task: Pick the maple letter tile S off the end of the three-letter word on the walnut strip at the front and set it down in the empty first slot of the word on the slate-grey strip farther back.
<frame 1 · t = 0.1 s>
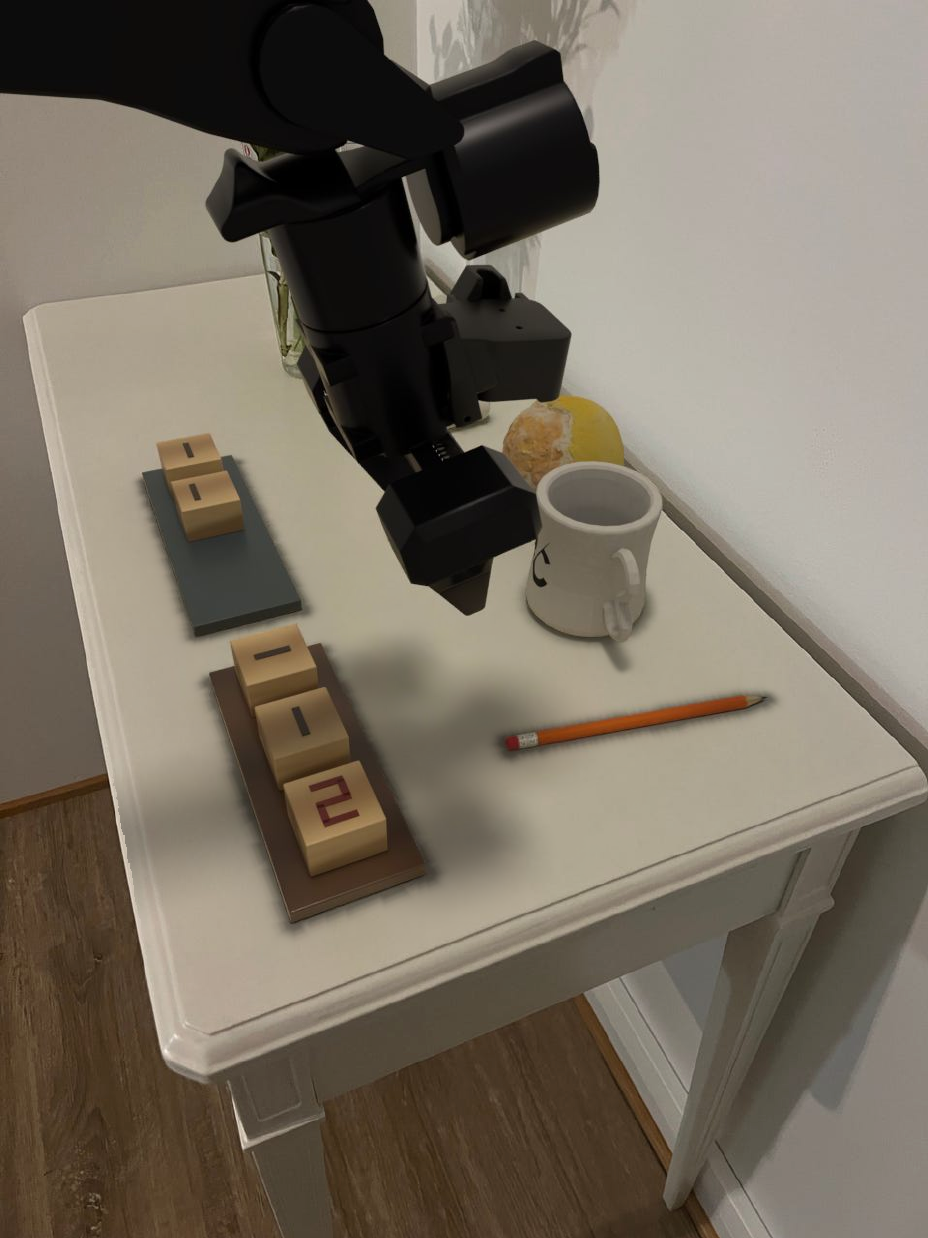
hand: (443, 558, 51), 15 cm above the table, tool pointing down, fingers open, 9 cm apart
icon: (436, 404, 95), on the table
mug: (590, 618, 71), on the table
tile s: (337, 833, 55), point 1 cm above the table, touching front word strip
back word strip: (216, 540, 77), on the table
fruit: (555, 509, 82), on the table
pencil: (640, 726, 63), on the table
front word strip: (308, 769, 59), on the table
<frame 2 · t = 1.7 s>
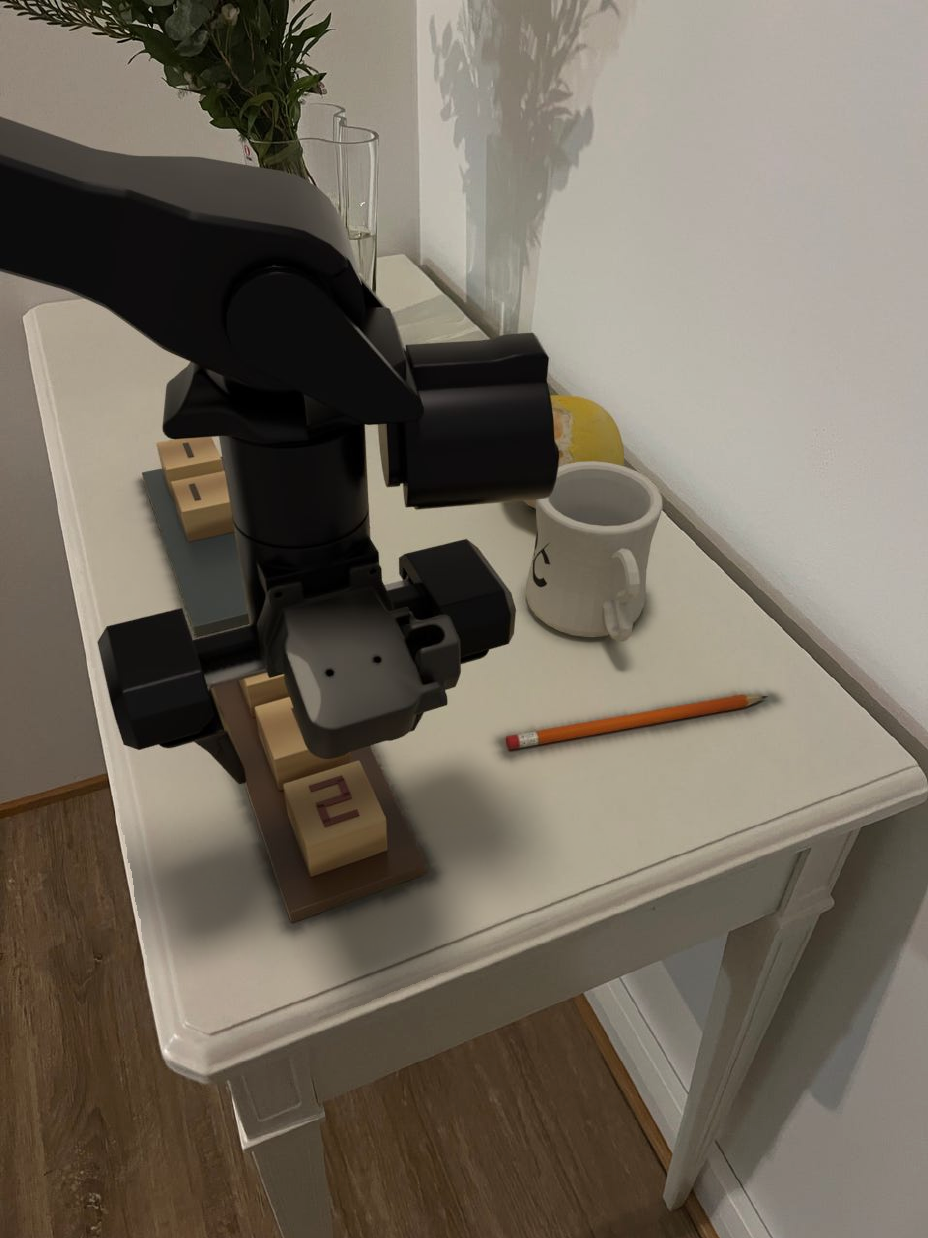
hand: (326, 751, 50), 8 cm above the table, tool pointing down, fingers open, 9 cm apart
nothing on the table moved.
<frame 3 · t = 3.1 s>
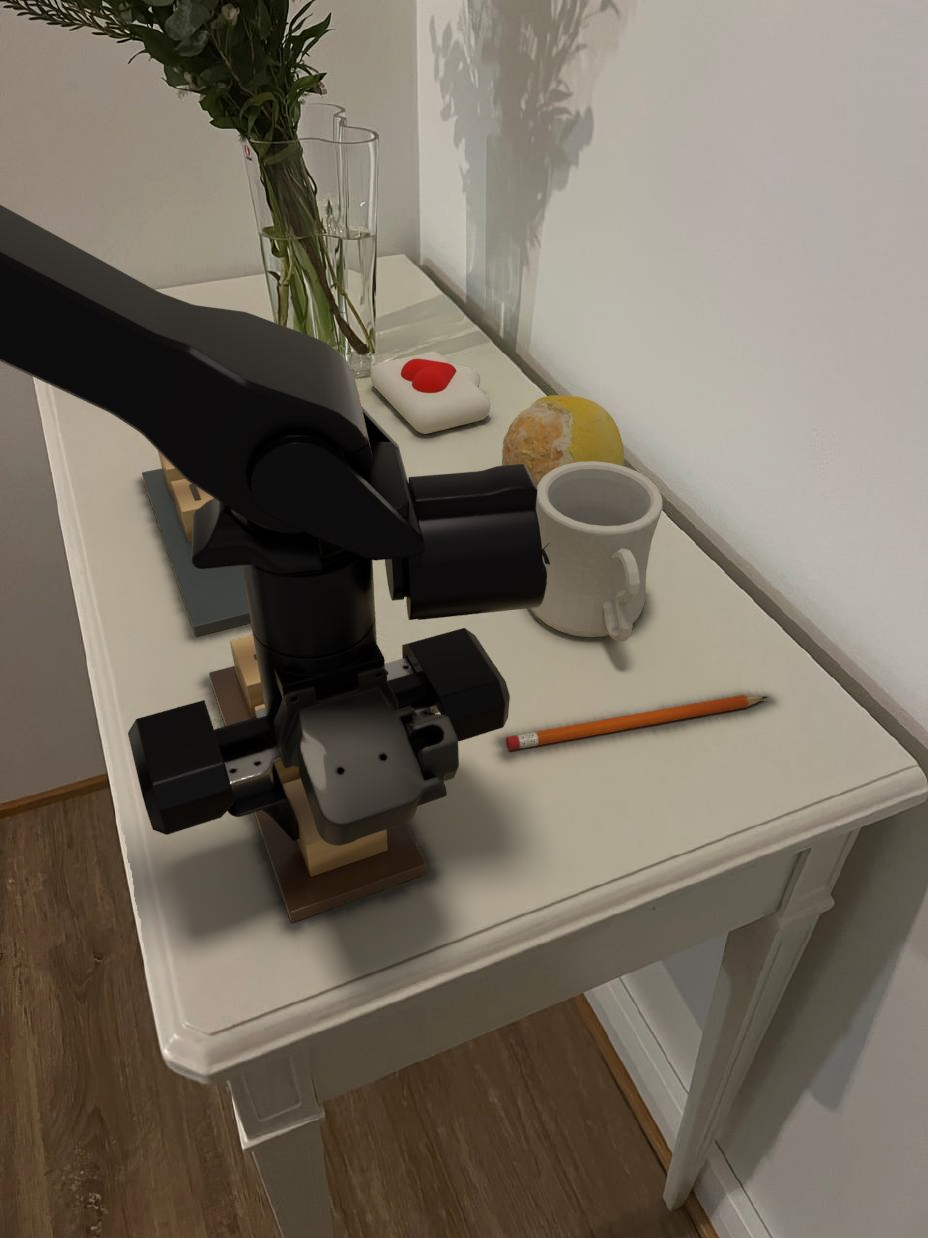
hand: (335, 820, 54), 2 cm above the table, tool pointing down, fingers closed on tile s, 4 cm apart
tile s: (337, 833, 55), point 1 cm above the table, touching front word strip, gripper
everything else where it was.
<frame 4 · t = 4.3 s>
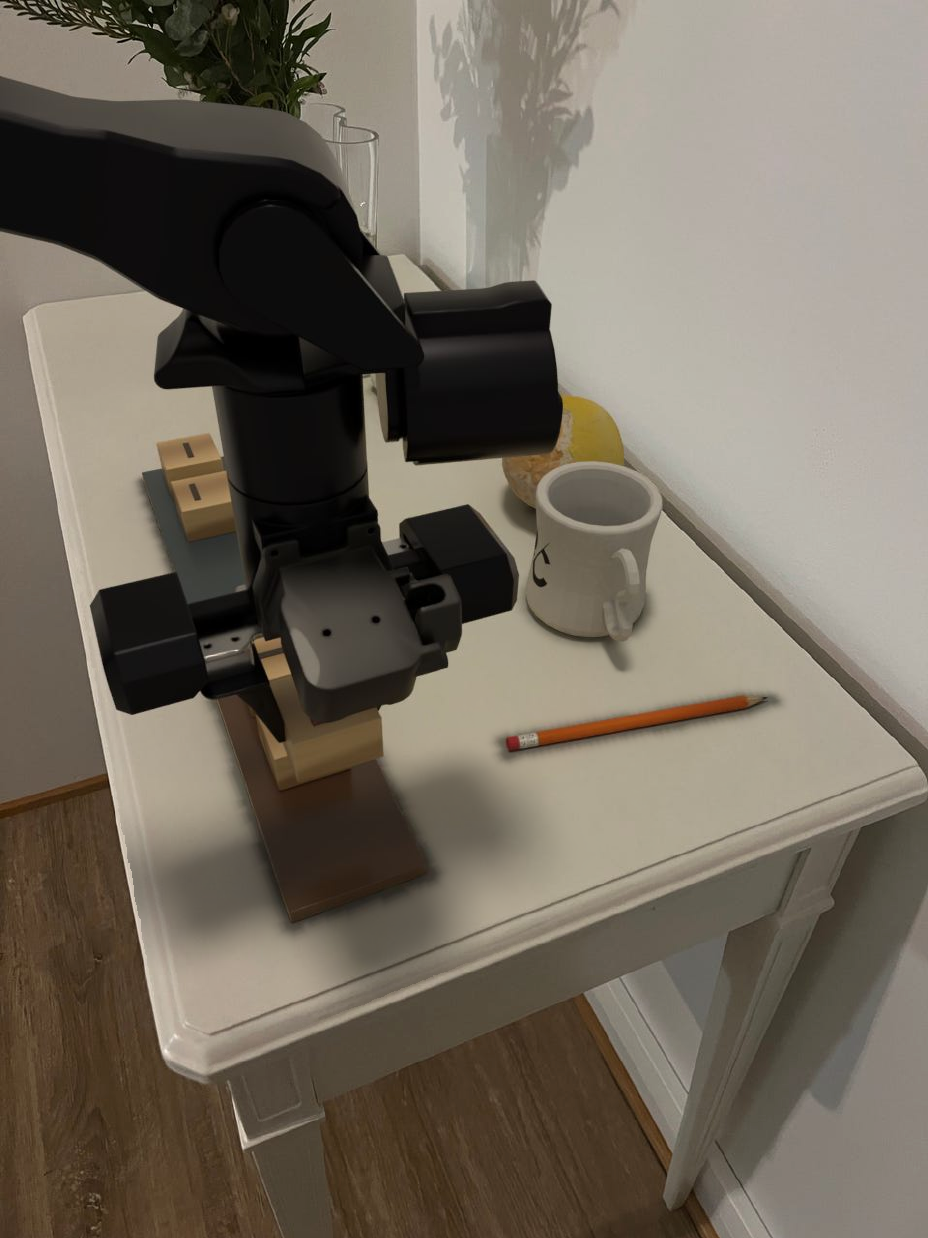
hand: (325, 723, 49), 10 cm above the table, tool pointing down, fingers closed on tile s, 4 cm apart
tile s: (328, 738, 49), point 9 cm above the table, touching gripper
everything else where it was.
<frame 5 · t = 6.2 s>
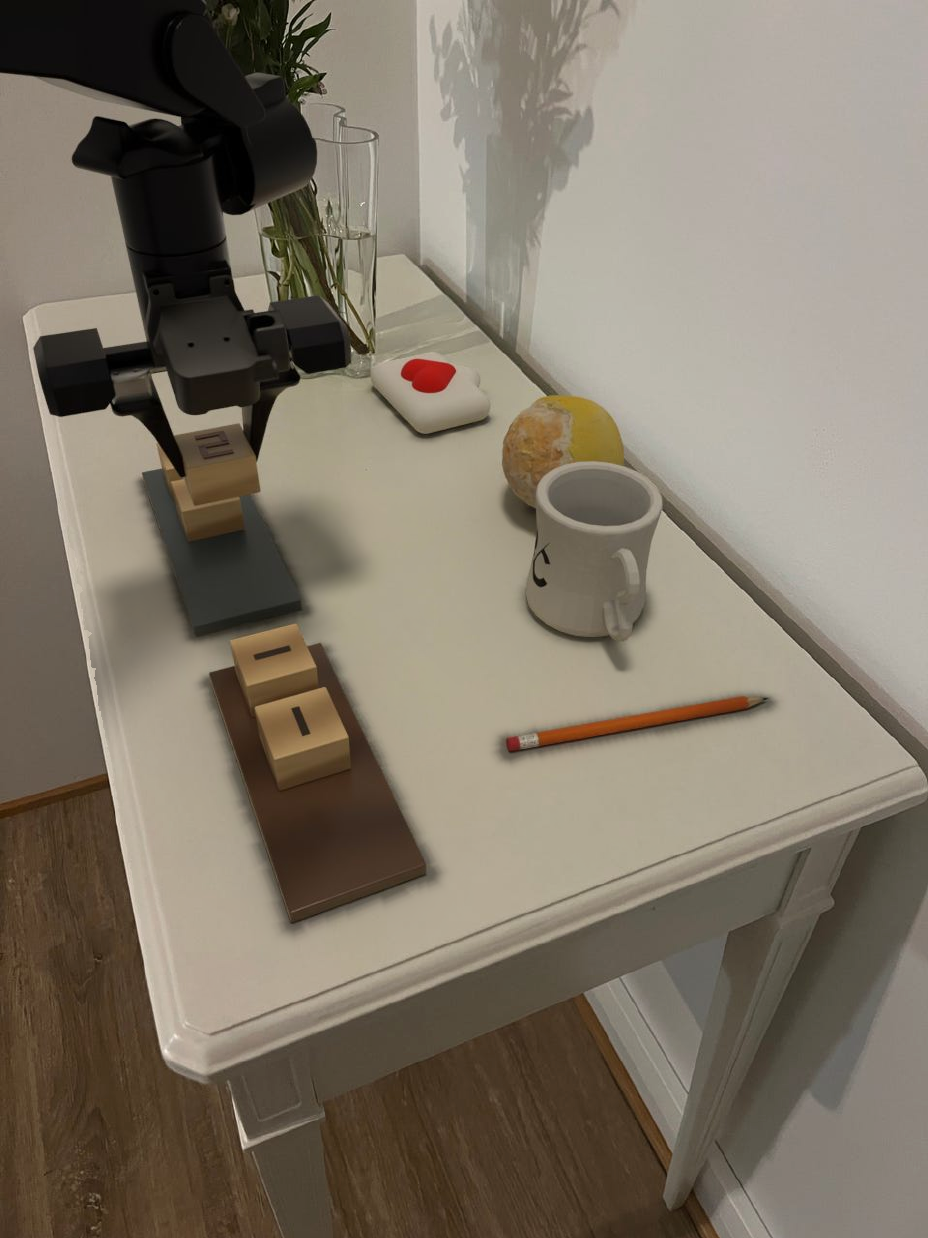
hand: (217, 467, 65), 11 cm above the table, tool pointing down, fingers closed on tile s, 4 cm apart
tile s: (220, 482, 66), point 10 cm above the table, touching gripper
everything else where it was.
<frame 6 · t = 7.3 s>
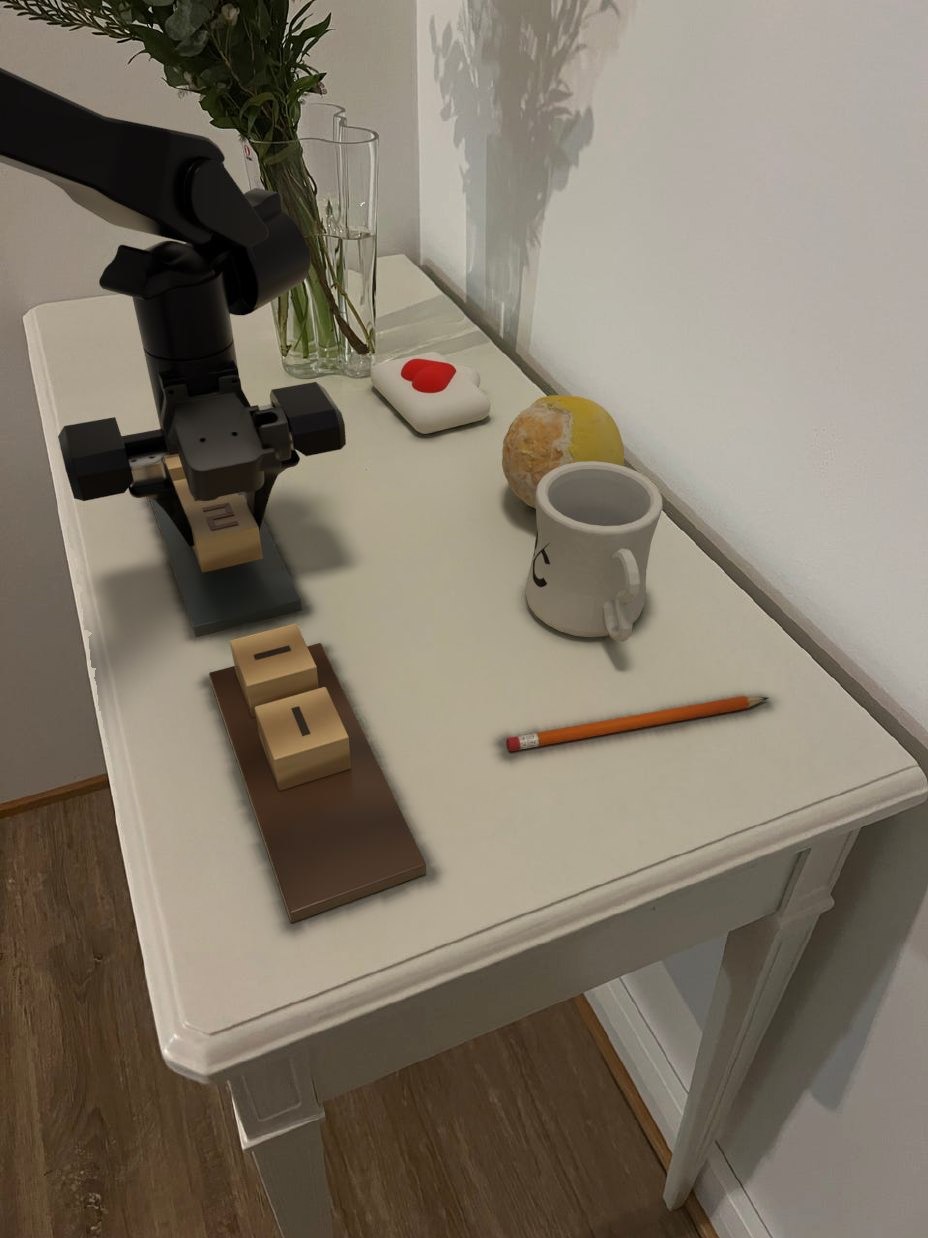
hand: (223, 536, 71), 4 cm above the table, tool pointing down, fingers closed on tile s, 4 cm apart
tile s: (226, 548, 72), point 3 cm above the table, touching gripper
everything else where it was.
when the fingers open (2 cm above the table, at t = 8.2 s): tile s stays where it is, resting on back word strip.
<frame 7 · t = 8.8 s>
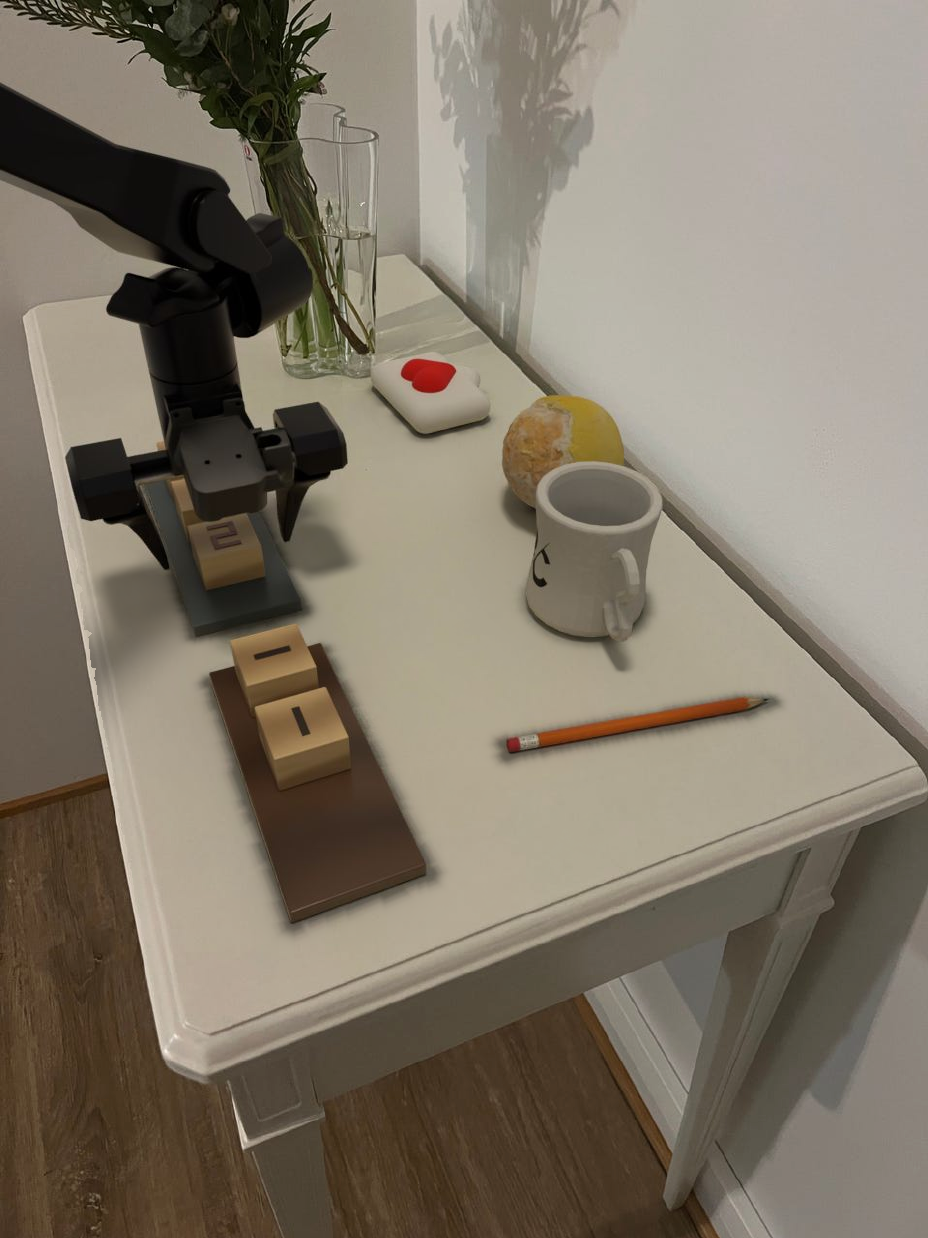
hand: (227, 552, 72), 2 cm above the table, tool pointing down, fingers open, 9 cm apart
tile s: (229, 566, 73), point 1 cm above the table, touching back word strip
everything else where it was.
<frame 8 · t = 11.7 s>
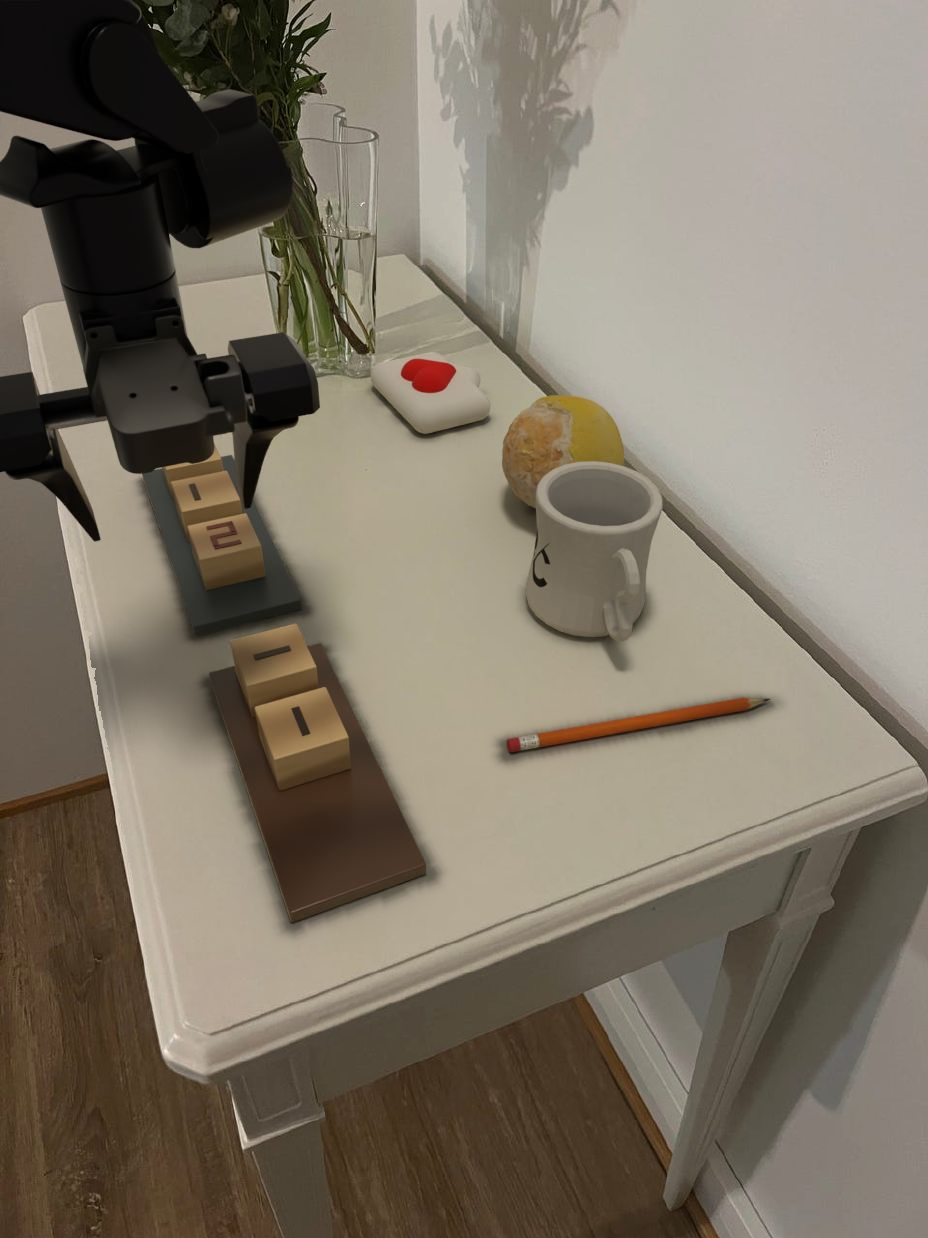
hand: (173, 521, 58), 12 cm above the table, tool pointing down, fingers open, 9 cm apart
nothing on the table moved.
at the end: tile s 0.1 cm from the target spot on the back word strip, point 1.0 cm above the back word strip's base; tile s tilted 0°; the gripper is holding nothing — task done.
